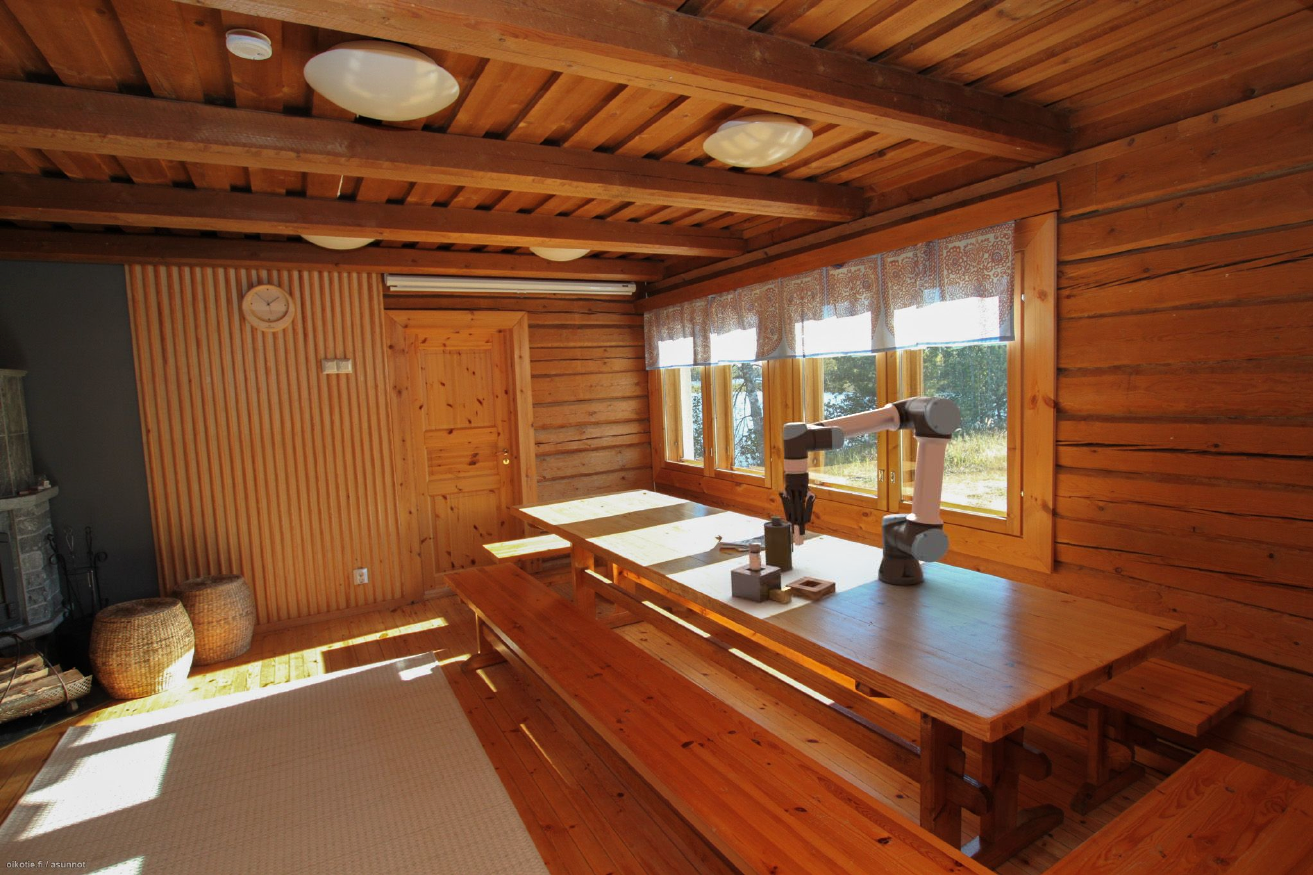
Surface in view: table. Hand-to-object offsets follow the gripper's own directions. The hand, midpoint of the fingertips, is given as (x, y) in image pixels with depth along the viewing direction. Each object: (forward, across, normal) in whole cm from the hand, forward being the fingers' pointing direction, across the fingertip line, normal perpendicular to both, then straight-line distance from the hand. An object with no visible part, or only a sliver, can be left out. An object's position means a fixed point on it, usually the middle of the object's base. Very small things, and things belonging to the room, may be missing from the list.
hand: (799, 544), depth 218 cm
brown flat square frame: (+20, +5, -13) cm, 24 cm away
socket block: (+20, +18, 0) cm, 27 cm away
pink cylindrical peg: (+16, +18, 0) cm, 24 cm away
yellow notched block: (+20, +11, 0) cm, 23 cm away
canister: (+21, +30, -30) cm, 47 cm away
